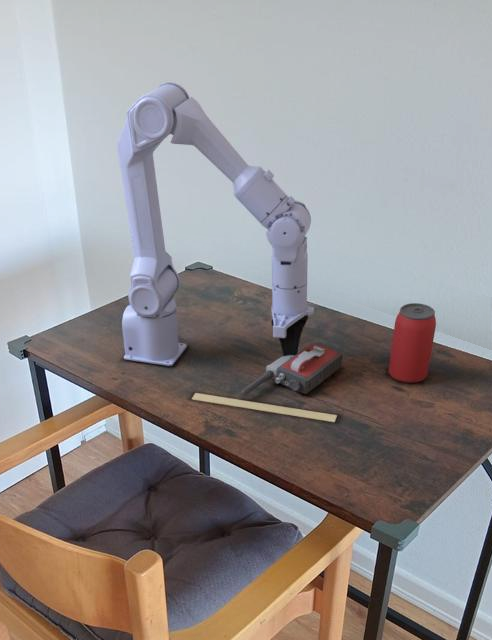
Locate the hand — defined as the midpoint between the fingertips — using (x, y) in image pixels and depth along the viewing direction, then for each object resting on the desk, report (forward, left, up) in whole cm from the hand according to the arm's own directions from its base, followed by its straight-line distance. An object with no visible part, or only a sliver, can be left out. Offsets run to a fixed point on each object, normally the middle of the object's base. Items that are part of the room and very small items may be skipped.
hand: (289, 356), depth 130 cm
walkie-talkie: (+2, -4, -2) cm, 5 cm away
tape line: (-1, -13, -3) cm, 14 cm away
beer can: (+20, +4, -3) cm, 20 cm away
